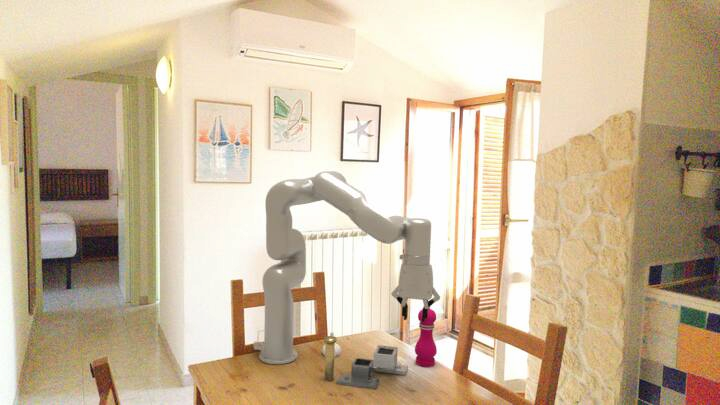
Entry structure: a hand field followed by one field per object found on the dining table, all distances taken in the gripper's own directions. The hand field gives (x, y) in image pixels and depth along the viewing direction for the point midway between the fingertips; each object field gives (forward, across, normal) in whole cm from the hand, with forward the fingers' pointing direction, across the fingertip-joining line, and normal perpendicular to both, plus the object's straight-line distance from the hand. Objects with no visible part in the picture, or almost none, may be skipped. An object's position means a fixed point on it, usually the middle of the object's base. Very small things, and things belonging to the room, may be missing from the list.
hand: (414, 319), depth 147 cm
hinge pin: (+19, -24, -6) cm, 32 cm away
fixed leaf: (+19, -15, -3) cm, 25 cm away
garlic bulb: (+20, -30, +13) cm, 38 cm away
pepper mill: (+20, +2, +15) cm, 25 cm away
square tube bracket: (+19, -9, +3) cm, 21 cm away
